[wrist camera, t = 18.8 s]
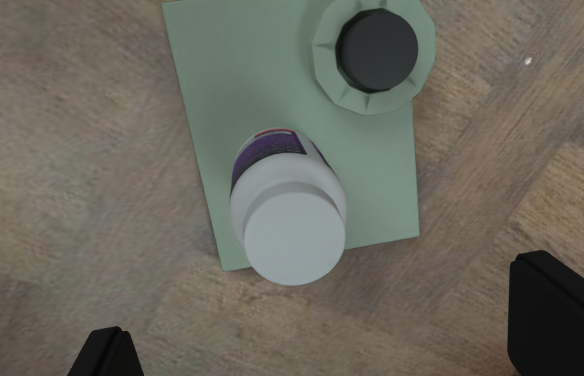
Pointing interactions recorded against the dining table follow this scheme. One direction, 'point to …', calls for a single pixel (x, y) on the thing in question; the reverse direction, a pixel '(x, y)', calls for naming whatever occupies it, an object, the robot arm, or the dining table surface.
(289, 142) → the pill bottle
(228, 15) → the green dial board
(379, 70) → the tare button
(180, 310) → the dining table surface
